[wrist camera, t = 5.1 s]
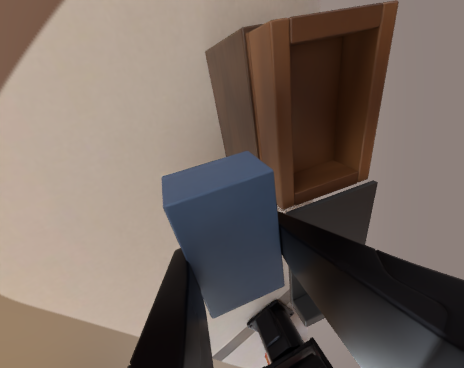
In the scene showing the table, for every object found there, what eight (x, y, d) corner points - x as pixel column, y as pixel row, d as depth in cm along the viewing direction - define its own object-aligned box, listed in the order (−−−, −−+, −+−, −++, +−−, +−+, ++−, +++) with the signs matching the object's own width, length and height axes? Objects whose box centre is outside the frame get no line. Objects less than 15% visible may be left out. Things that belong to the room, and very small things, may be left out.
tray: (339, 166, 14) (368, 179, 12) (263, 191, 13) (282, 210, 11) (353, 15, 10) (400, -1, 8) (245, 33, 9) (269, 20, 7)
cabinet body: (281, 140, 21) (340, 168, 14) (226, 157, 20) (261, 195, 13) (275, 38, 17) (356, 8, 10) (204, 51, 16) (241, 27, 9)
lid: (355, 272, 16) (377, 292, 14) (290, 302, 15) (305, 328, 13) (373, 180, 12) (405, 194, 10) (285, 212, 11) (306, 233, 9)
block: (264, 252, 10) (285, 286, 8) (202, 277, 10) (212, 320, 8) (247, 149, 7) (274, 169, 6) (160, 176, 7) (162, 207, 5)
